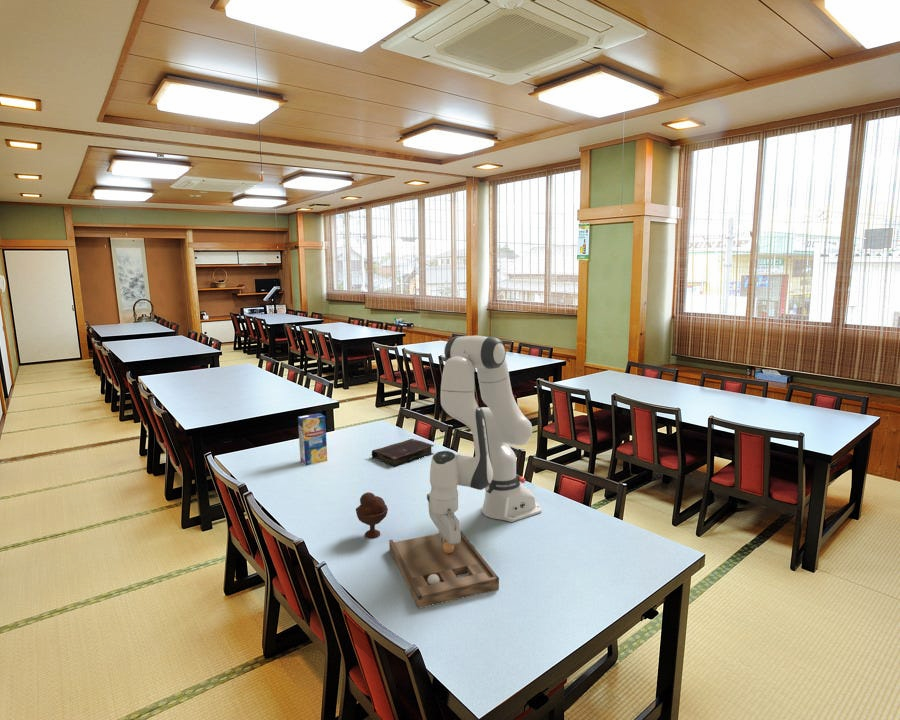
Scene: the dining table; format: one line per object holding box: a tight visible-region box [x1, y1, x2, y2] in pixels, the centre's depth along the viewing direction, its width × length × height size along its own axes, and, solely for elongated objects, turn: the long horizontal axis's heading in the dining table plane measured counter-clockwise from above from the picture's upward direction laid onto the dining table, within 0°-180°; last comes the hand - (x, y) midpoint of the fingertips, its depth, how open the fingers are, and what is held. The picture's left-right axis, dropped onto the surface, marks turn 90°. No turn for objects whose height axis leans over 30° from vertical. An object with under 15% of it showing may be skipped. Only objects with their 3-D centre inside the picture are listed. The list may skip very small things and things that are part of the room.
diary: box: [371, 438, 435, 468], centre depth 257 cm, size 19×25×5 cm
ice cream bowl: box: [355, 492, 389, 540], centre depth 180 cm, size 11×11×15 cm
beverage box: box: [297, 412, 328, 466], centre depth 250 cm, size 7×11×22 cm, turn 125°
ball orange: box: [443, 542, 454, 553], centre depth 165 cm, size 4×4×4 cm
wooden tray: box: [388, 529, 500, 609], centre depth 161 cm, size 24×32×4 cm
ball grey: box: [427, 574, 440, 585], centre depth 152 cm, size 4×4×4 cm
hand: (444, 544), depth 168 cm, fingers closed
